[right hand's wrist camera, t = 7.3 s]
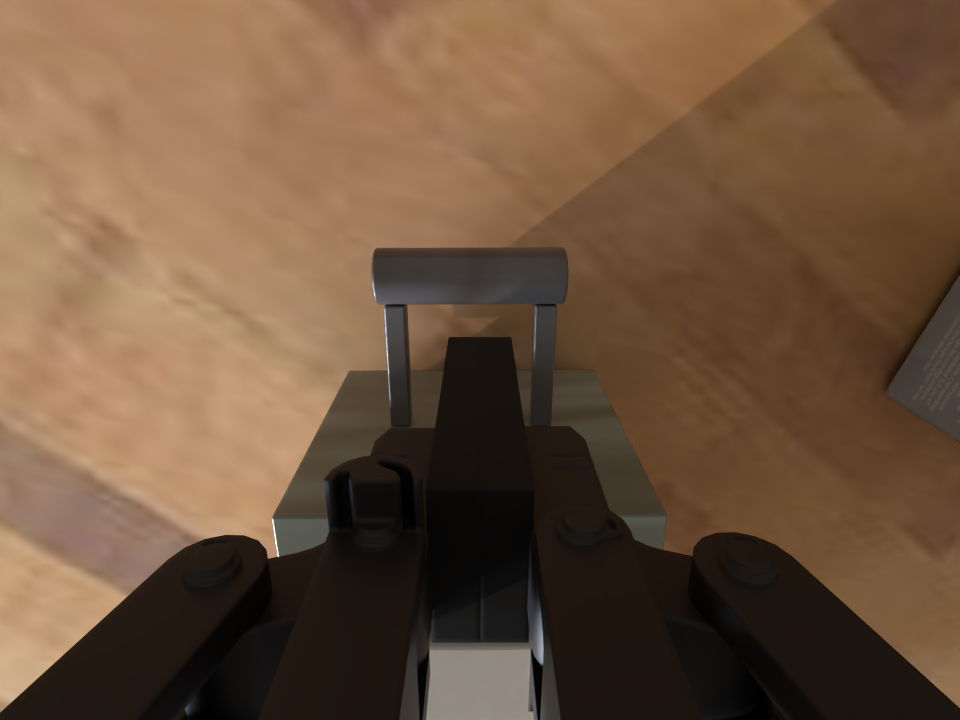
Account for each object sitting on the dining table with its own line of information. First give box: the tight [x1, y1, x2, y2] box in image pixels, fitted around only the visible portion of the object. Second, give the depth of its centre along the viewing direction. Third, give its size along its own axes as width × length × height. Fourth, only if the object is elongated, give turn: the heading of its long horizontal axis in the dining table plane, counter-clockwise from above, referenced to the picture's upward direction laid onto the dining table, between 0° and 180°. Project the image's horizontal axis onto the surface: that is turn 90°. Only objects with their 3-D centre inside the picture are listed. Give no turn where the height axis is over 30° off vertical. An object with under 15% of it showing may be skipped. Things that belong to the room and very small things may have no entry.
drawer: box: [272, 248, 667, 557], centre depth 19 cm, size 20×9×9 cm, turn 0°
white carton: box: [426, 631, 534, 720], centre depth 22 cm, size 16×10×11 cm, turn 0°
